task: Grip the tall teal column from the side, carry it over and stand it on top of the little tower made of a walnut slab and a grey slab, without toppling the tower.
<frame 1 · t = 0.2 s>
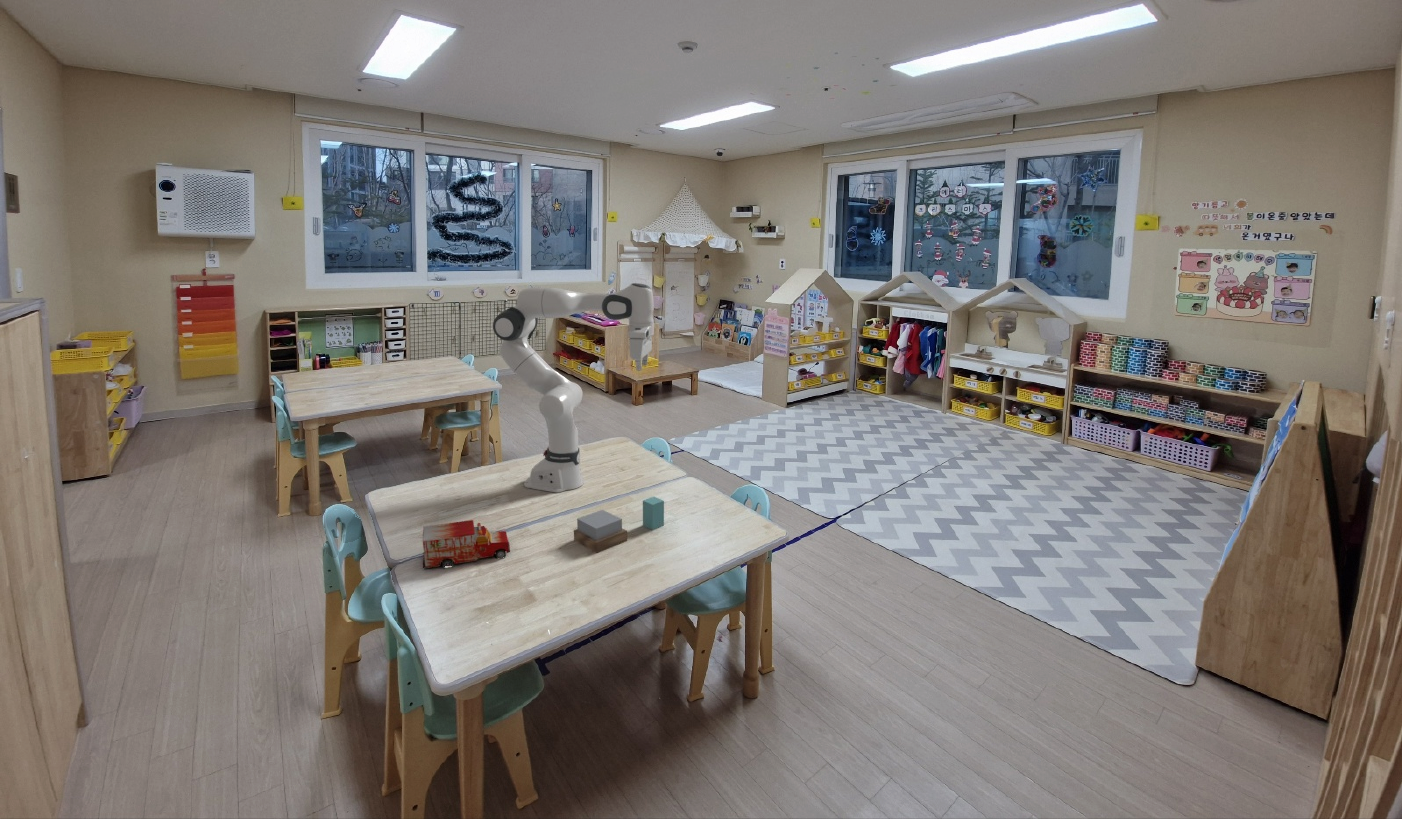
hand: (641, 367, 241), 48 cm above the table, tool pointing down, fingers open, 8 cm apart
grey slab: (599, 530, 211), point 3 cm above the table, touching walnut slab
walnut slab: (600, 541, 212), on the table, touching grey slab
red box-shaped vehicle: (467, 558, 201), on the table
teal column: (653, 525, 224), on the table
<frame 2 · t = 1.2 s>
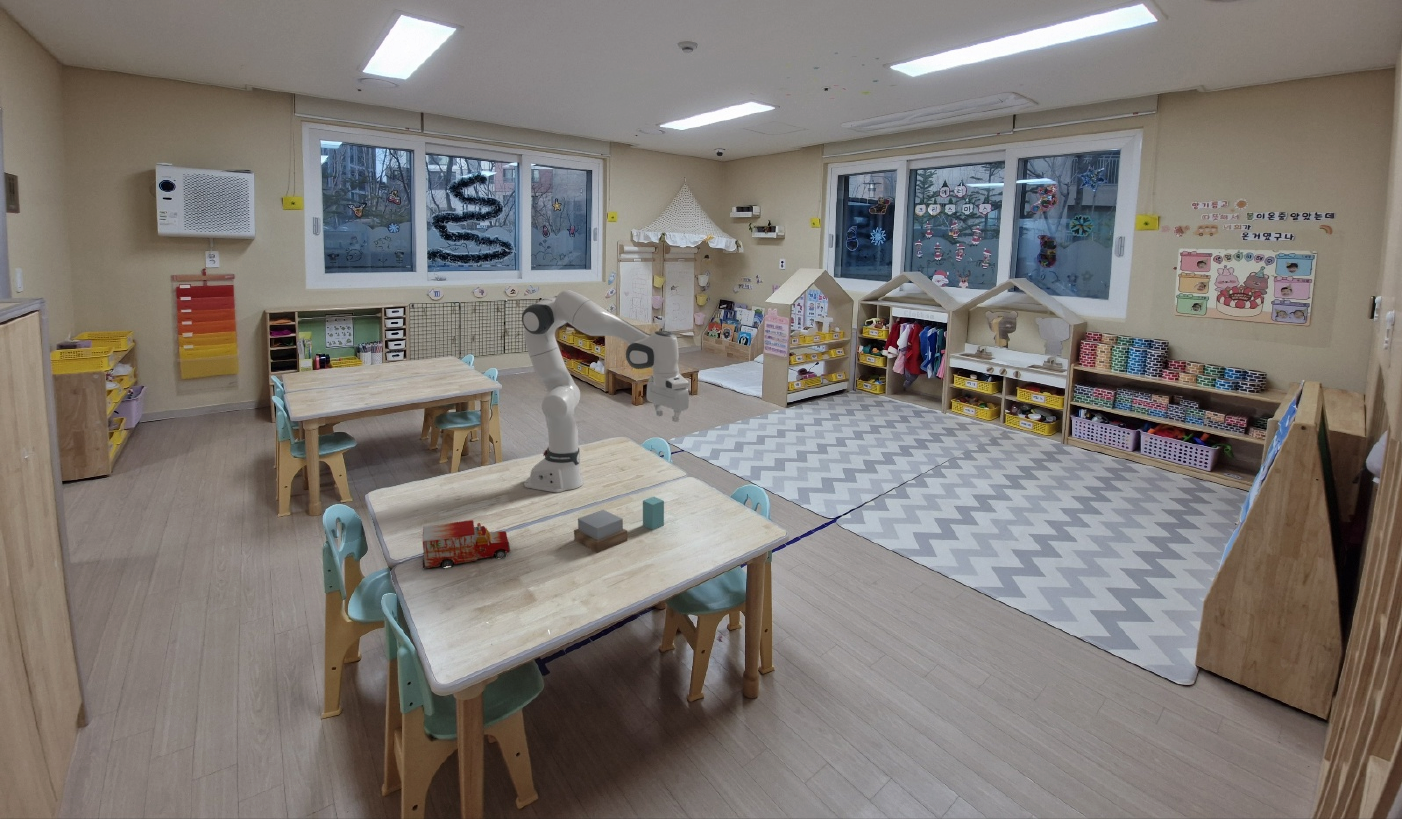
hand: (667, 418, 229), 33 cm above the table, tool pointing down, fingers open, 8 cm apart
nothing on the table moved.
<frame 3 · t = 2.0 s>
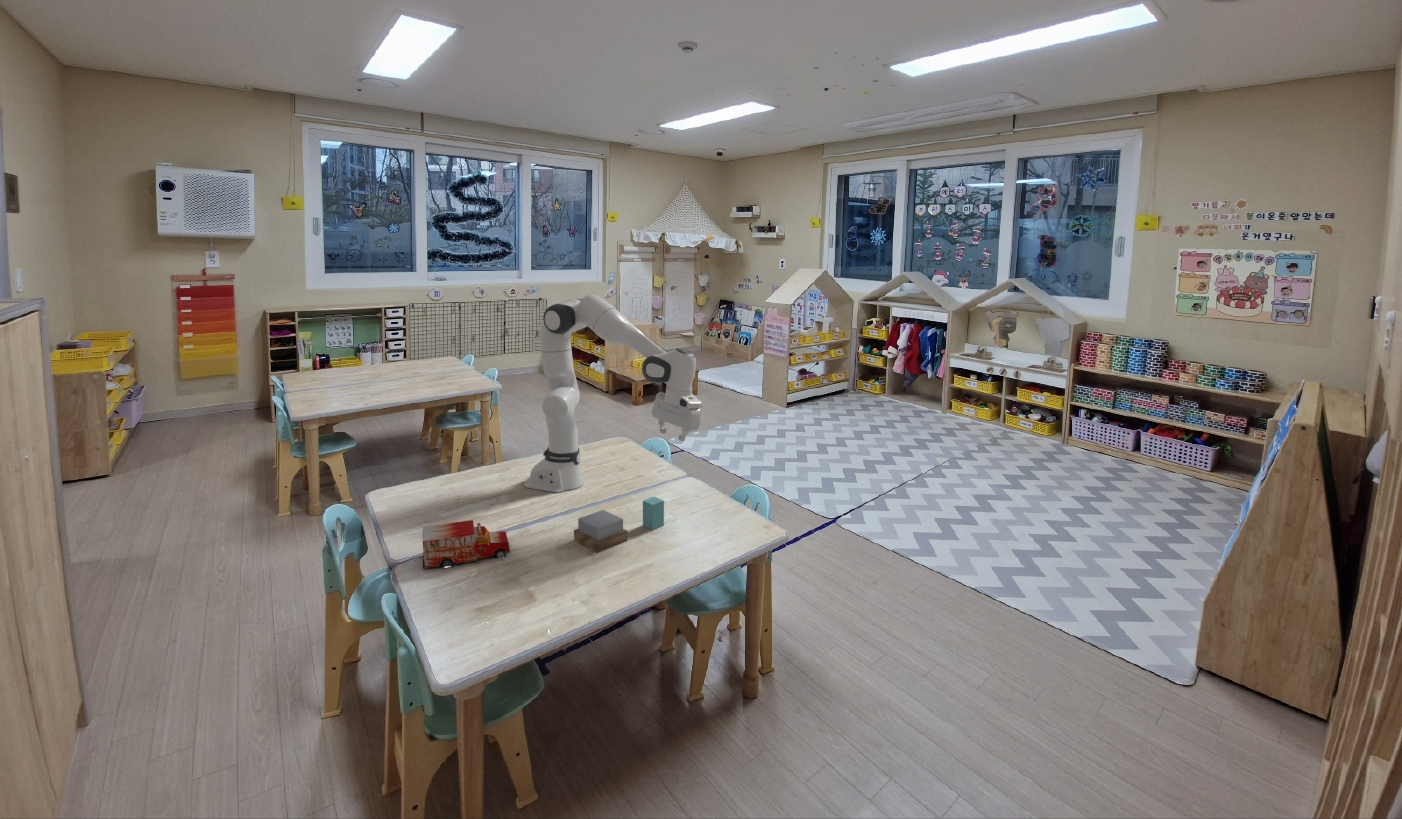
hand: (671, 436, 227), 28 cm above the table, tool pointing down, fingers open, 8 cm apart
nothing on the table moved.
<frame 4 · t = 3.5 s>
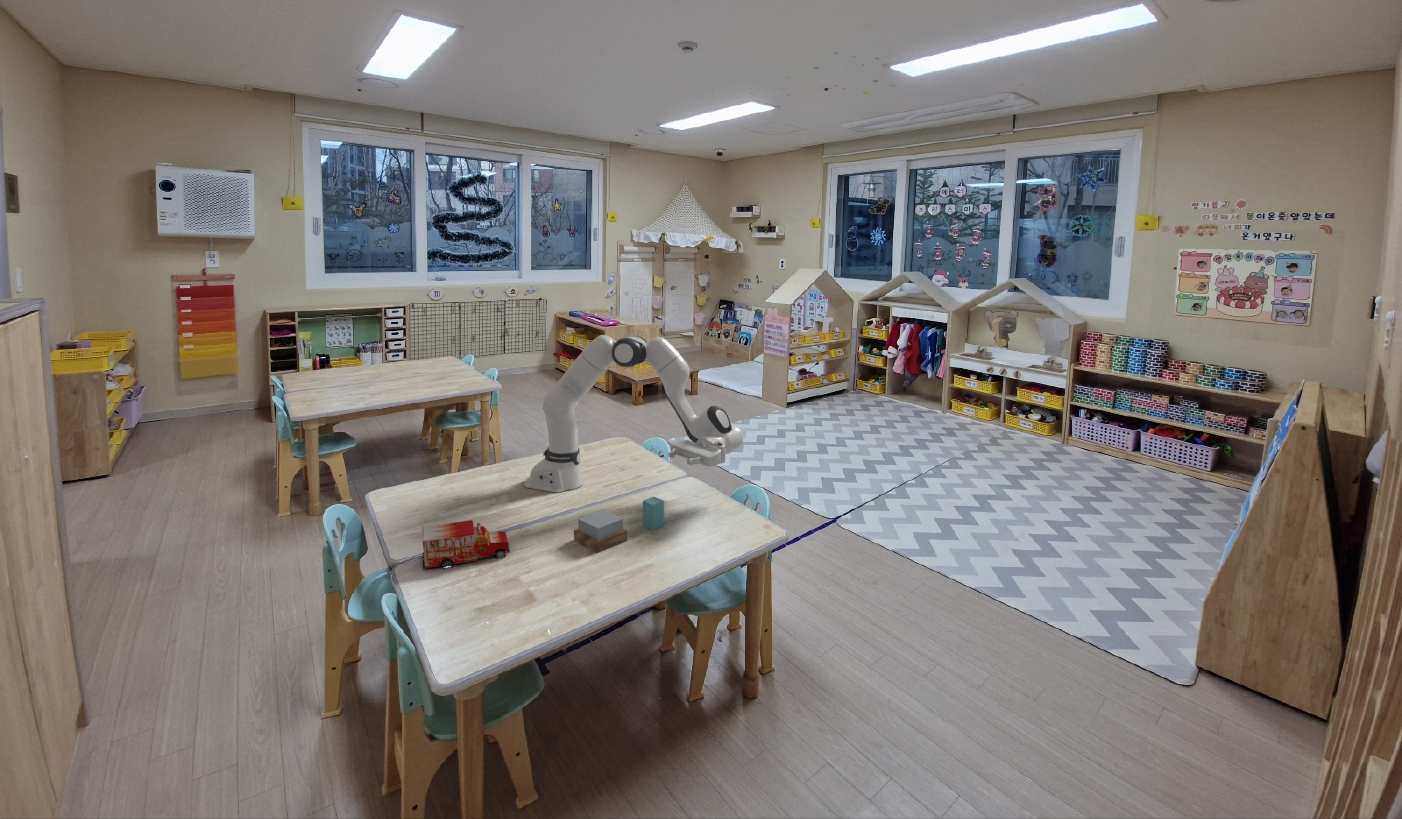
hand: (679, 458, 226), 21 cm above the table, tool horizontal, fingers open, 8 cm apart
nothing on the table moved.
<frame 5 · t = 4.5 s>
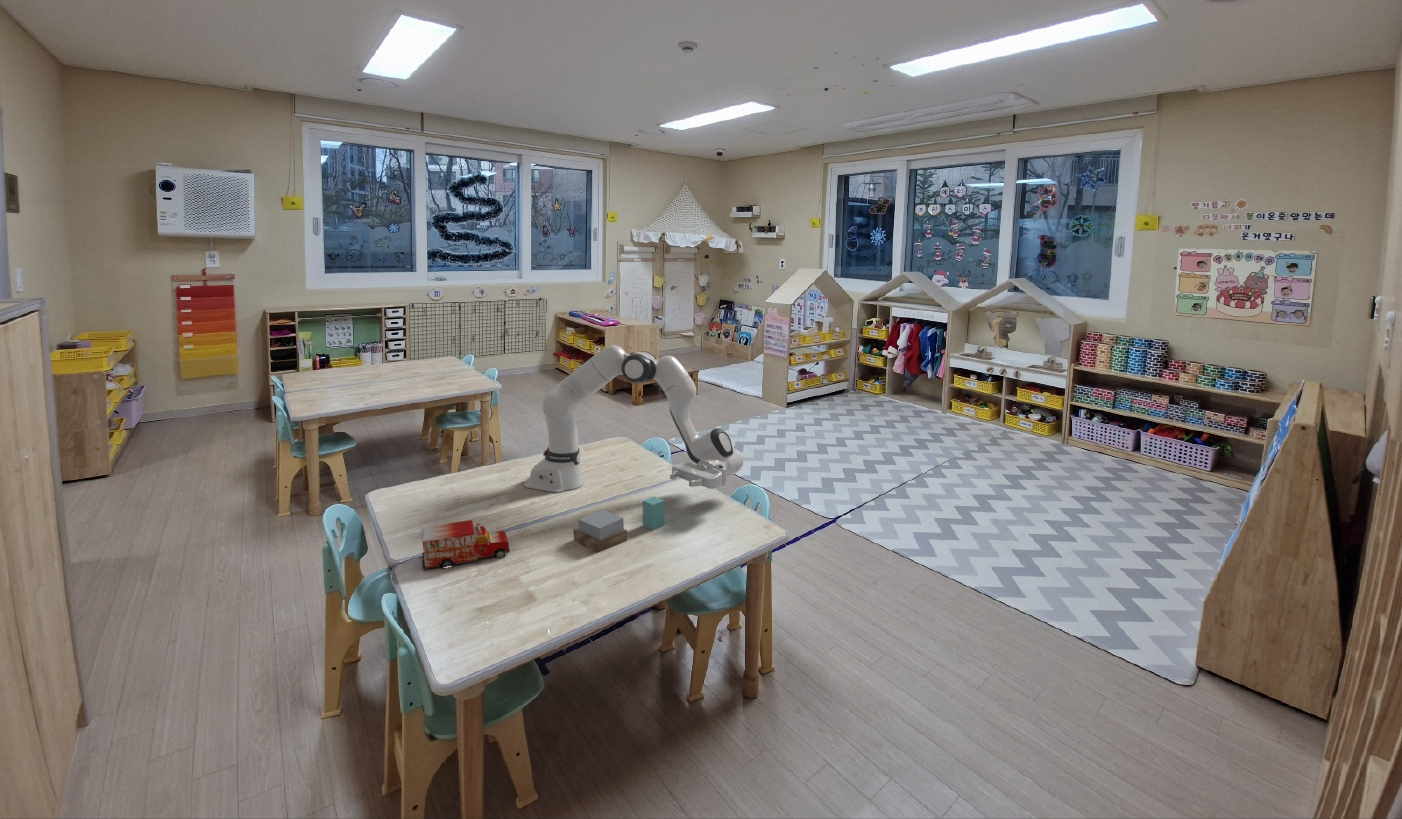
hand: (680, 480, 229), 13 cm above the table, tool horizontal, fingers open, 8 cm apart
nothing on the table moved.
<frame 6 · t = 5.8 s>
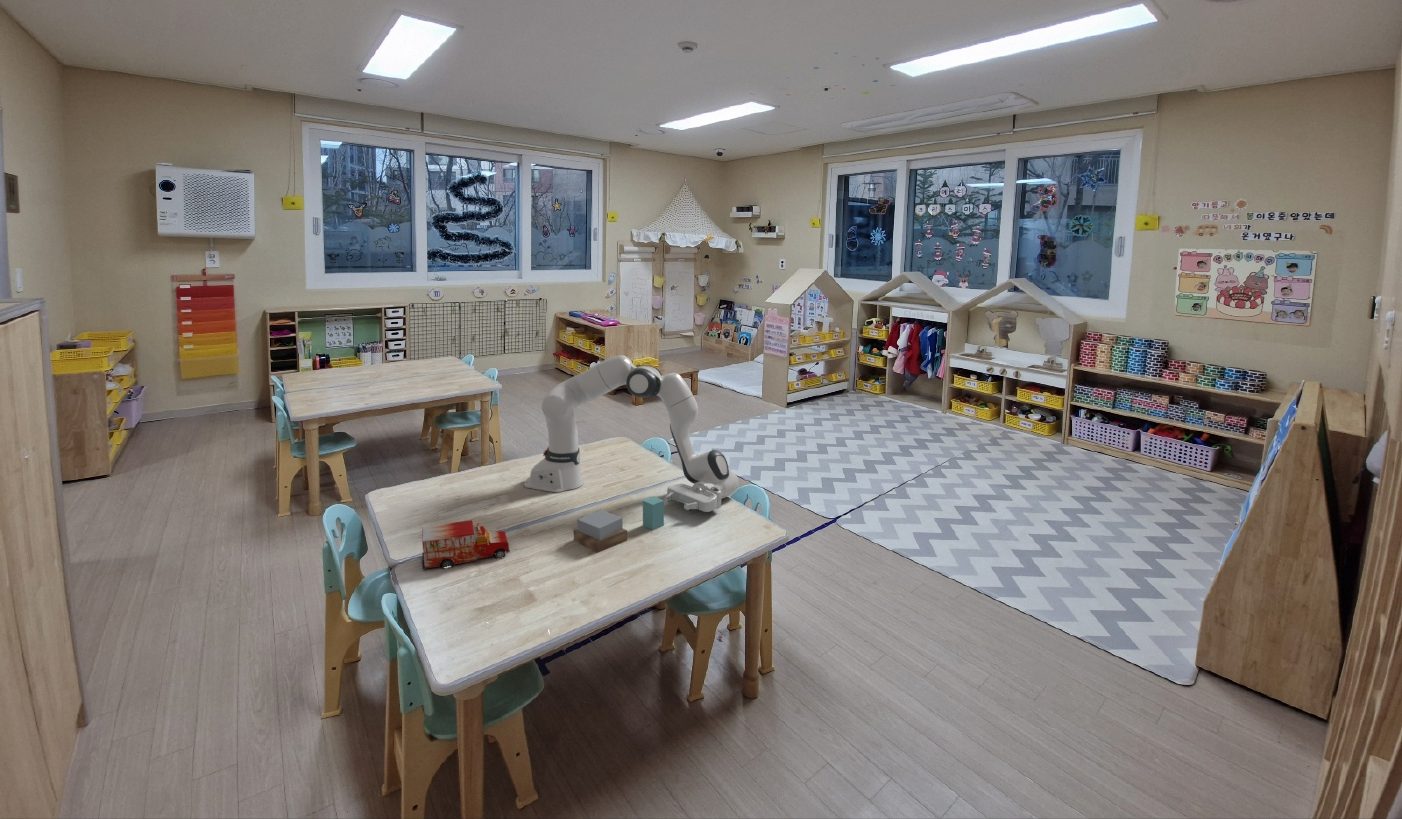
hand: (675, 503, 230), 5 cm above the table, tool horizontal, fingers open, 8 cm apart
nothing on the table moved.
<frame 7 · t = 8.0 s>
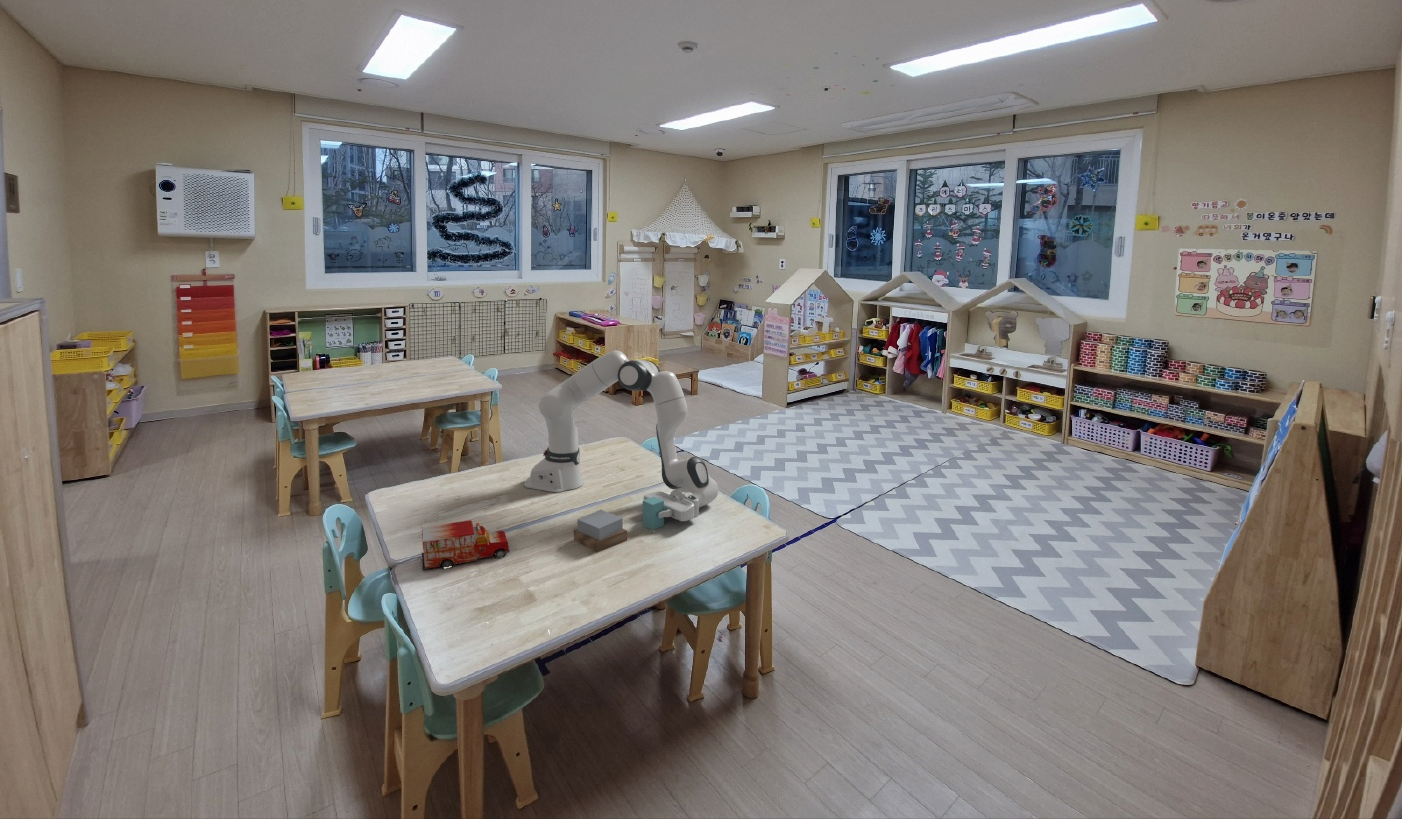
hand: (651, 512, 222), 5 cm above the table, tool horizontal, fingers closed on teal column, 5 cm apart
teal column: (653, 525, 224), on the table, touching gripper
everything else where it was.
when the fingers open (14 cm above the table, at t = 14.8 s): teal column drops 2 cm, resting on grey slab.
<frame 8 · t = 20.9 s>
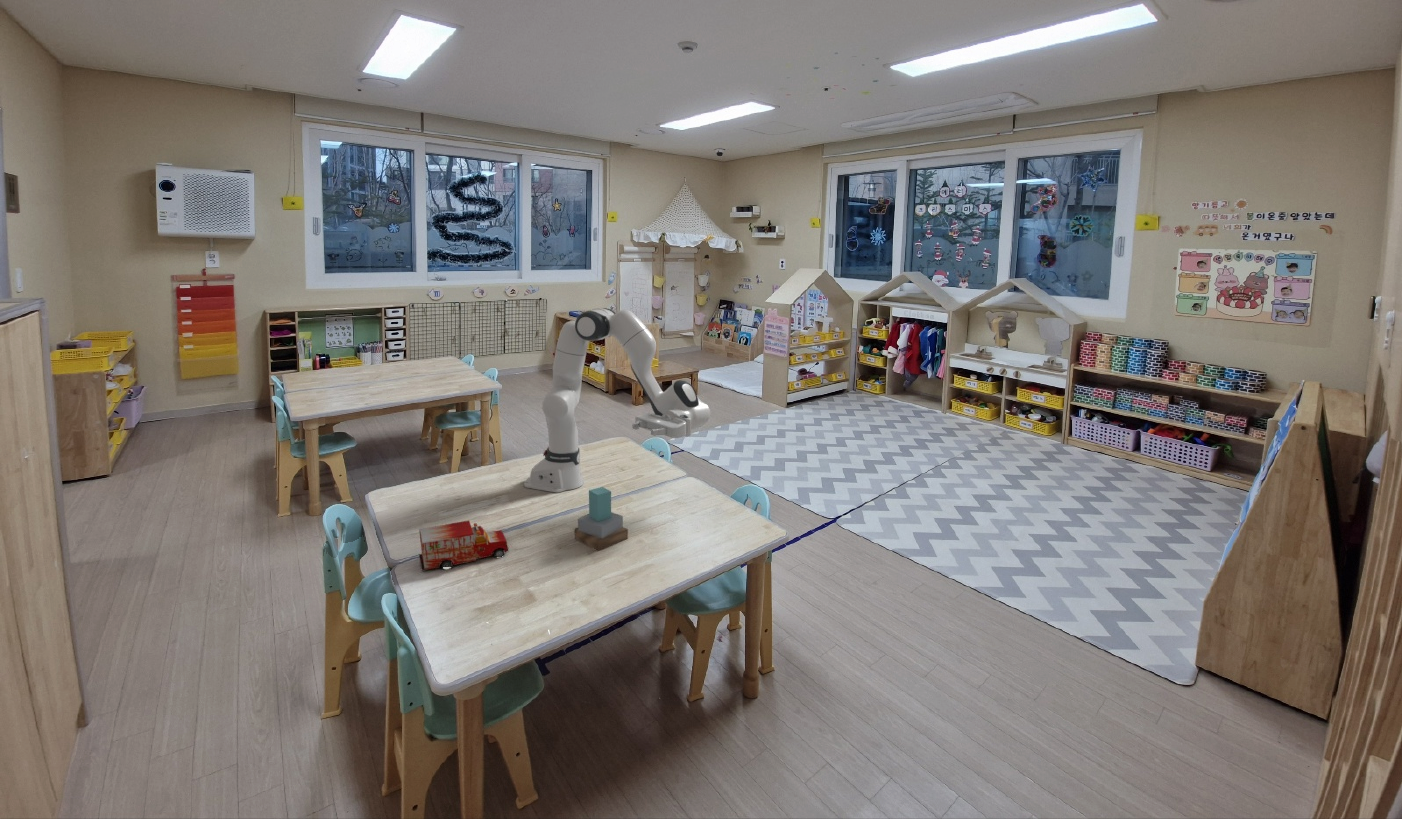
hand: (642, 429, 220), 32 cm above the table, tool horizontal, fingers open, 8 cm apart
grey slab: (600, 528, 213), point 3 cm above the table, touching teal column, walnut slab
teal column: (600, 517, 211), point 7 cm above the table, touching grey slab
at the end: teal column 0.1 cm off-centre on the grey slab, point 4.0 cm above the grey slab's base; teal column tilted 1°; grey slab 0.1 cm off-centre on the walnut slab, point 4.0 cm above the walnut slab's base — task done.
